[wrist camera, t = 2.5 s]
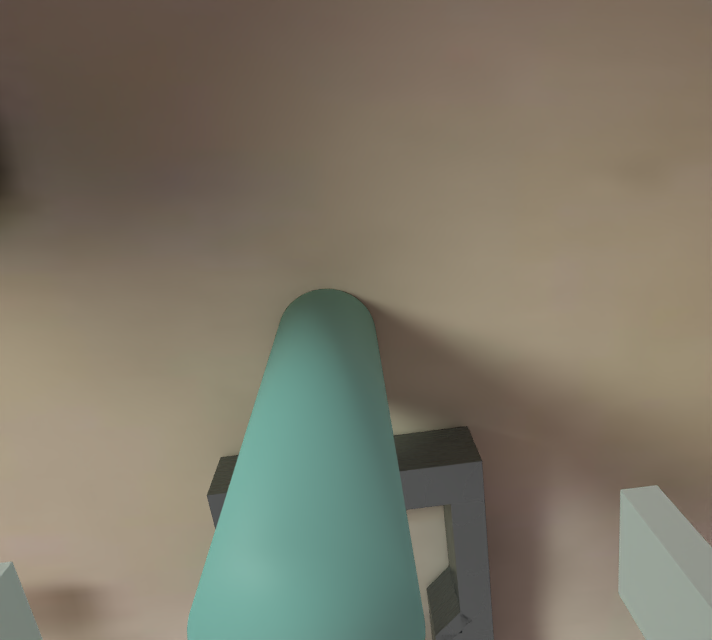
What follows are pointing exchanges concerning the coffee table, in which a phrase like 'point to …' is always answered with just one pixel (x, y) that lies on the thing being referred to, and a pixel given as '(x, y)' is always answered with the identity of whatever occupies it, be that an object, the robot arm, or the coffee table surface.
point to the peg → (314, 496)
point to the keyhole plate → (462, 522)
